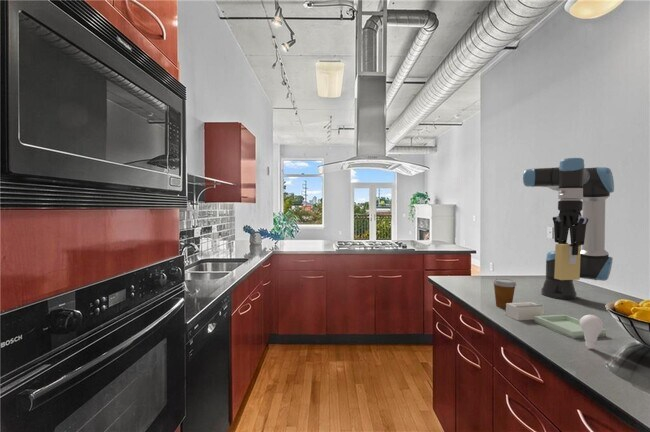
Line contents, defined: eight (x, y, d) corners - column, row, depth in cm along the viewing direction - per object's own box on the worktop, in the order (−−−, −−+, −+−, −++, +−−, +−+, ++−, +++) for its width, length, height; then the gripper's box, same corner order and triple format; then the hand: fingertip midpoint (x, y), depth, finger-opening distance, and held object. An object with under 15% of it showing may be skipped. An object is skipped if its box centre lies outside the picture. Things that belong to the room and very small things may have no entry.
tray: (564, 320, 141) (564, 314, 141) (605, 336, 125) (606, 329, 124) (534, 322, 139) (534, 316, 138) (572, 338, 122) (572, 331, 122)
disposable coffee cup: (518, 310, 155) (519, 283, 154) (495, 308, 157) (496, 281, 156) (511, 304, 164) (512, 278, 164) (489, 302, 166) (490, 277, 165)
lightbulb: (574, 345, 116) (575, 312, 116) (591, 344, 116) (592, 312, 116) (589, 353, 110) (590, 318, 110) (607, 352, 110) (609, 318, 110)
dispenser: (530, 313, 150) (531, 300, 150) (543, 318, 143) (544, 305, 143) (505, 315, 147) (506, 301, 147) (517, 320, 141) (518, 306, 140)
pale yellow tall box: (572, 278, 134) (573, 244, 133) (579, 279, 131) (580, 244, 130) (554, 278, 132) (555, 244, 132) (560, 280, 129) (562, 244, 129)
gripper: (544, 200, 138) (542, 259, 139) (580, 199, 122) (578, 266, 123) (560, 200, 139) (558, 259, 140) (599, 200, 123) (596, 266, 124)
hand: (568, 262), depth 131 cm, fingers closed on pale yellow tall box, 3 cm apart
